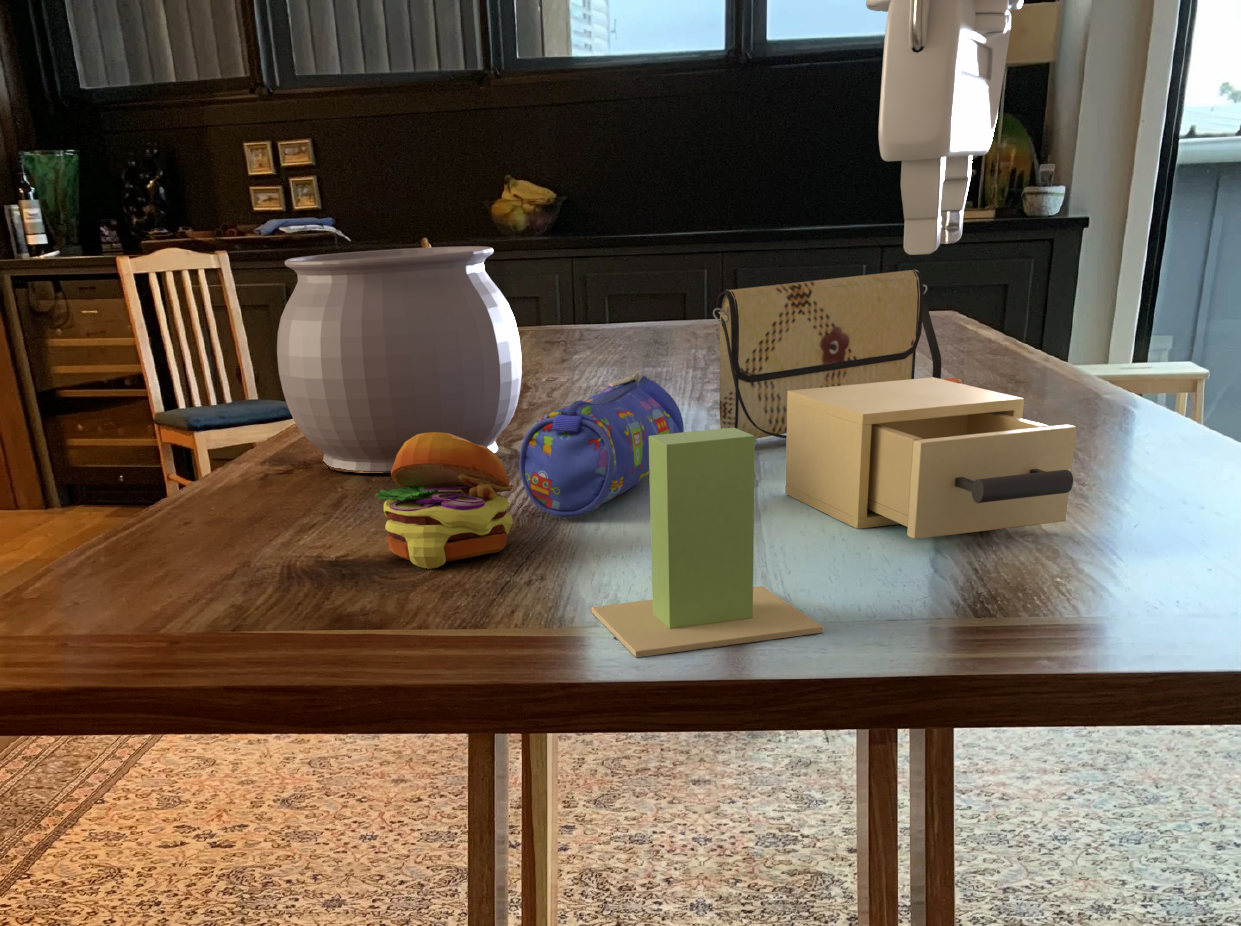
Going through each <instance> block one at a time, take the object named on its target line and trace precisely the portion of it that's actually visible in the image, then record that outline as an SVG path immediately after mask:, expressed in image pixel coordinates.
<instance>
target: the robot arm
mask: <svg viewBox="0 0 1241 926" xmlns="http://www.w3.org/2000/svg"><path fill="white" fill-rule="evenodd" d="M1023 4H1024V0H865V7H866V8H867V9H868V10H870V11H874V12H885V13H886V12H887V14H886V15H887V16H886V22H885V25H886V26H885V29H884V30H885V32H884V41H883V42H884V43H883V54H882V67H881V69H882V70H881V81H880V82H881V83H880V99H879V115H878V146H879V154H880V157H881V160H883V161H885V162H900V161H901V168H900V191H901V192H900V193H901V202H902V210H903V220H904V224H903V225H904V228H903V250H904V252H905V253H906V254H907V255H909V256H913V255H914V256H915V255H930V254H932V253H934V252H935V251H937V250H938V249H939V247H940V246H941V245H949V244H955V243H956V242H958V241H959V240H960V239H961V238H962V235H963V226H964V214H965V207H966V202H967V197H968V192H969V187H970V183H971V177H972V163H973V161H972V160H973V157H977V156H979V157H980V156H984V155H987V154H988V152H989V150H990V148H991V145H992V142H993V137H994V132H995V128H996V124H997V120H998V114H999V108H1000V103H1001V95H1002V90H1003V82H1004V77H1005V71H1006V65H1007V58H1008V57H1007V55H1008V49H1009V43H1010V34H1011V29H1012V28H1011V27H1012V26H1011V25H1012V13H1011V11H1015V10H1020V9H1021V8H1022V6H1023Z"/></svg>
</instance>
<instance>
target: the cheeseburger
mask: <svg viewBox="0 0 1241 926" xmlns="http://www.w3.org/2000/svg"><path fill="white" fill-rule="evenodd" d="M390 477H391V479H392V481H393V482H394V483H395V484H396V485H397V486H400V487H398V488H392V489H389V490H384V489H380V490H379V492H376V493H375V497H377V500H381V499H384V500H385V501H384V503H383V513H384V516H385V517H386V518H387V521H386V523H385V525H384V528H385V530H386V531H387V534H388V536H387V535H386V542H387V545H388V548H389V551H390V552H392V553H393V554H394V555H396V556H397V557H399V558H401V559H404V560H408V561H410V562H411V564H413V565H415V566H416V567H419V568H421V569H426V568H427V570H433V569H437V568H439V567H441V566H444V565H445V564H446V562H453V561H457V560H462V559H467V558H473V557H479V556H483V555H486V554H487V555H488V554H494V553H498V552H501V551H502V550H503V549H504V548H505V547H506V546H507V541H508V537H509V533H510V531H511V528H512V526H513V523H514V520H513V516H512V515H511V514H510V513H509V512H508V511H507V509H509V507H510V502H509V498H507V497H505V496H504V495H501V494H498V493H501V492H502V493H504V492H511V491H512V490H513V489H514V488H515V487H516V484H510V480H509V477H508V473H507V470H506V468H505V466H504V464H503V462H502V461H501V460H500V458H499V456H498V455H497V454H496V452H495V453H494V452H493V451H491V450H490V449H489V448H487V447H484V446H482V445H476V444H474V443H472V442H470V441H467V440H465V439H463V438H460V437H458V436H455V435H452V434H449V433H441V432H429V433H421V434H417V435H415V436H414V437H412V438H411V439H409V440H407V441H406V442H405V443H404V444H403V446H402V447H401V449H400V450H399V452H398V454H397V456H396V459H395V462H394V465H393V467H392V470H391V474H390Z"/></svg>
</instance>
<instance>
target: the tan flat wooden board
mask: <svg viewBox="0 0 1241 926" xmlns="http://www.w3.org/2000/svg"><path fill="white" fill-rule="evenodd" d="M591 613H592V614H593V615H594V616H595V618H597V619H598V620H599V621H600V623H602V625H603V626H605V628H606V629H608V631H609V632H610V633H612V635H613V636H614V637H615V638H616V639H617V640H618V641H619V642H620V643H621V644H622V645H623V646H624V647H625V648H626V649H627V651H629V652H630V653H631V654H632V655H633V656H634V657H635V658H643V657H650V656H658V655H666V654H673V653H680V652H687V651H695V650H703V649H711V648H718V647H725V646H734V645H740V644H747V643H755V642H762V641H771V640H777V639H785V638H793V637H801V636H809V635H815V634H822V633H824V626H823V625H822V624H820V623H819V622H817V621H815V620H814V619H812V618H811V617H809V616H808V615H806V614H805V613H804V612H802V611H801V610H799V609H798V608H797V607H795V606H794V605H792V604H790V603H789V602H787V601H785V600H784V599H782V597H780V596H778V595H777V594H775V593H774V592H772V591H770V589H767V587H765V586H763V585H758V586H753V618H749V619H741V620H733V621H726V622H718V623H710V624H703V625H695V626H687V627H679V628H672V629H670V628H668V627H667V626H666V625H665V624H664V623H663V622H662V621H661V620H659V619H658V618H657V617H656V616H655V615H654V614H653V600H652V599H645V600H637V601H630V602H629V601H628V602H622V603H613V604H605V605H598V606H592V607H591Z"/></svg>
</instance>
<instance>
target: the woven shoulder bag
mask: <svg viewBox="0 0 1241 926" xmlns="http://www.w3.org/2000/svg"><path fill="white" fill-rule="evenodd" d="M924 288H925V290H924ZM927 291H928V286H927V285H926V284H924V283H923V276H922V274H921V273H920V271H919V270H917V269H915V268H914V269H912V270H911V269H909V270H900V271H891V272H881V273H872V274H863V275H854V276H846V277H836V278H835V277H834V278H828V279H817V280H808V281H801V282H800V281H799V282H791V283H782V284H780V283H779V284H772V285H763V286H753V287H745V288H735V289H724V290H723V291H721V292H720V293H719V295H718V296H717V300H716V304H715V306H716V308H713V310H712V315H713V318H714V319H715V320H716V321H717V322H719V424H720V429H723V428H733V427H734V428H736V429H739V430H741V431H744V432H746V433H749V434H751V435H753V436H755V440H756V439H763V438H767V437H776V438H781V439H786V437H787V401H788V400H787V393H788V391H790V390H801V389H812V388H823V387H833V386H844V385H855V384H866V383H877V382H887V381H898V380H909V379H915V372H916V371H915V370H916V356H917V355H916V353H917V348H918V345H919V342H920V339H921V336H922V329H923V331H924V333H925V337H926V340H927V343H928V348H929V351H930V355H931V359H932V375H931V377H934V378H938V379H942V357H941V355H942V354H941V351H940V348H939V347H940V346H939V344H938V340H937V339H938V338H937V336H936V333H935V329H934V325H933V322H932V318H931V314H930V311H929V307H928V303H927V299H926V293H927ZM716 311H718V314H719V318H718V317H717V315H716V313H715V312H716Z"/></svg>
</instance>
